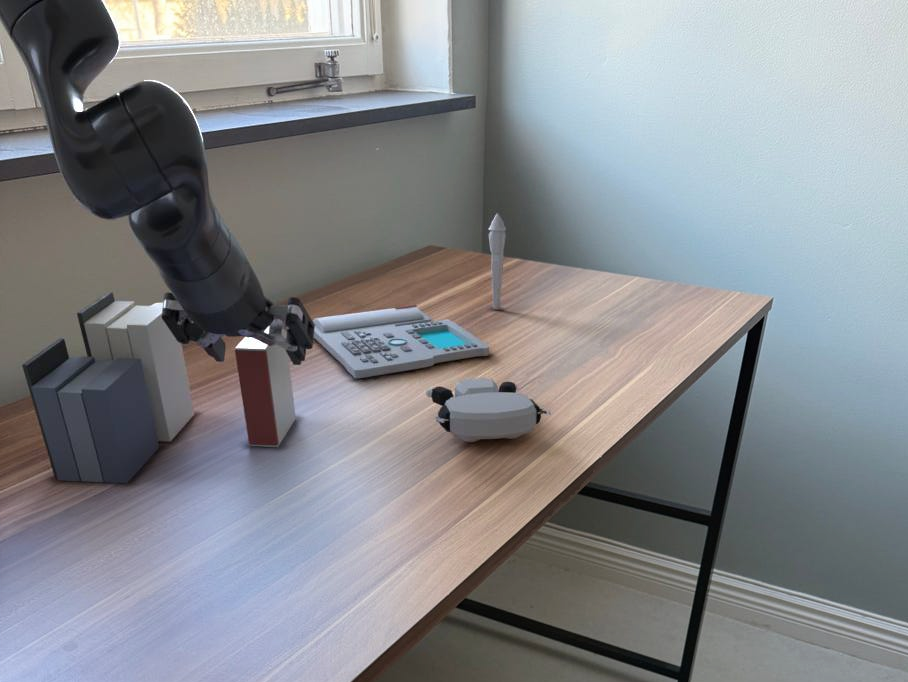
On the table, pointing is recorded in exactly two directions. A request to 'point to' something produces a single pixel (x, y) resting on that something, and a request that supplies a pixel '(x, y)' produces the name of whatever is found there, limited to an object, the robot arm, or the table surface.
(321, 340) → the office telephone
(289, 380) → the cream book
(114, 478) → the grey books
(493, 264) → the pen
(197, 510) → the table surface
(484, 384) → the robot toy
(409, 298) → the table surface
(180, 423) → the white books
